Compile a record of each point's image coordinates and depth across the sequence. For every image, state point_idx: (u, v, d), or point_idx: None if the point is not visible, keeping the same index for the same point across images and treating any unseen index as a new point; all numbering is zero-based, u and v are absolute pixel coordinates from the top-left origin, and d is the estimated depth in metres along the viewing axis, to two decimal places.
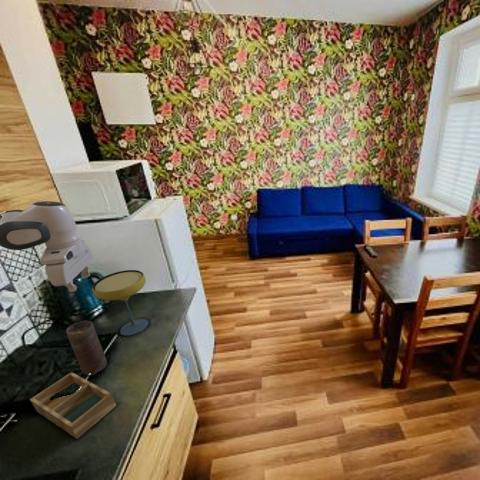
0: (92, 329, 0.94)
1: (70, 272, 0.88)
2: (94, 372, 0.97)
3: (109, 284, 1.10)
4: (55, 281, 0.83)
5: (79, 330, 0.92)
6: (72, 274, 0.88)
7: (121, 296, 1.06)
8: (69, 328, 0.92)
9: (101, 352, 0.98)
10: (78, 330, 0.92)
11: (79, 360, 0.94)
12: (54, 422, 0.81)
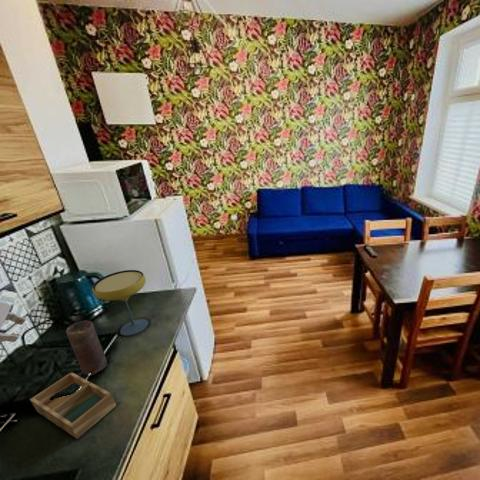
0: (92, 329, 0.94)
1: None
2: (94, 372, 0.97)
3: (109, 284, 1.10)
4: None
5: (79, 330, 0.92)
6: None
7: (121, 296, 1.06)
8: (69, 328, 0.92)
9: (101, 352, 0.98)
10: (78, 330, 0.92)
11: (79, 360, 0.94)
12: (54, 422, 0.81)
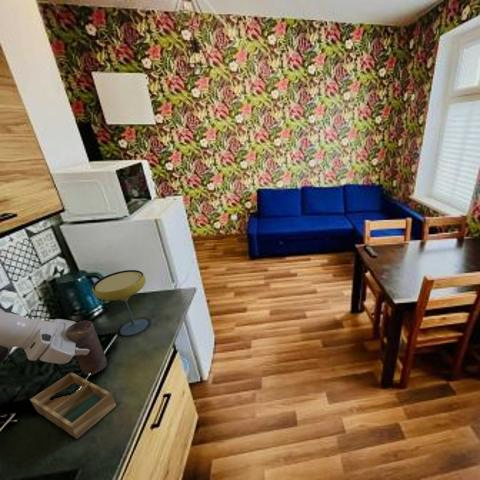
0: (92, 329, 0.94)
1: (65, 345, 0.87)
2: (94, 372, 0.97)
3: (109, 284, 1.10)
4: (61, 360, 0.84)
5: (79, 330, 0.92)
6: (69, 345, 0.88)
7: (121, 296, 1.06)
8: (69, 328, 0.92)
9: (101, 352, 0.98)
10: (78, 330, 0.92)
11: (79, 360, 0.94)
12: (54, 422, 0.81)
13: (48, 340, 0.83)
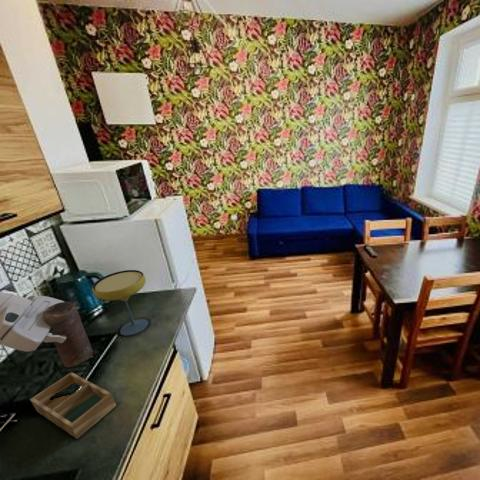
0: (72, 313, 0.79)
1: (35, 329, 0.73)
2: (73, 363, 0.82)
3: (109, 284, 1.10)
4: (24, 347, 0.70)
5: (57, 313, 0.78)
6: (40, 330, 0.74)
7: (121, 296, 1.06)
8: (48, 309, 0.78)
9: (84, 341, 0.83)
10: (56, 312, 0.78)
11: (57, 347, 0.80)
12: (54, 422, 0.81)
13: (12, 321, 0.69)
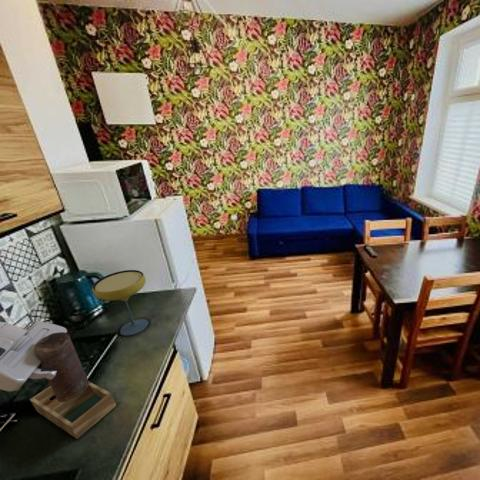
0: (64, 347, 0.73)
1: (21, 365, 0.67)
2: (65, 399, 0.76)
3: (109, 284, 1.10)
4: (6, 387, 0.64)
5: (48, 346, 0.72)
6: (28, 366, 0.68)
7: (121, 296, 1.06)
8: (42, 340, 0.73)
9: (77, 375, 0.77)
10: (48, 345, 0.72)
11: (49, 381, 0.74)
12: (54, 422, 0.81)
13: None
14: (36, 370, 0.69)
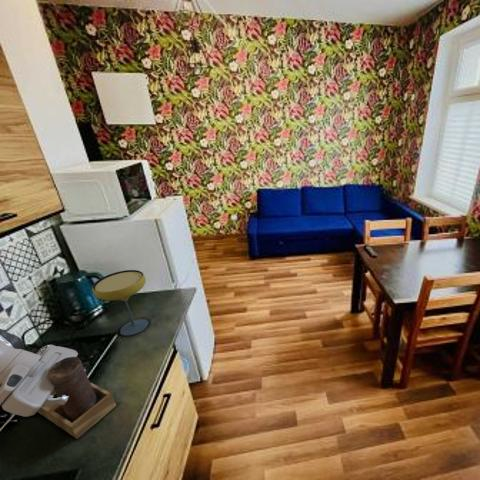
0: (76, 372, 0.77)
1: (37, 391, 0.71)
2: None
3: (109, 284, 1.10)
4: (23, 412, 0.68)
5: (61, 371, 0.75)
6: (43, 391, 0.72)
7: (121, 296, 1.06)
8: (54, 365, 0.77)
9: (88, 398, 0.81)
10: (61, 371, 0.76)
11: None
12: (54, 422, 0.81)
13: (13, 385, 0.67)
14: (49, 397, 0.72)
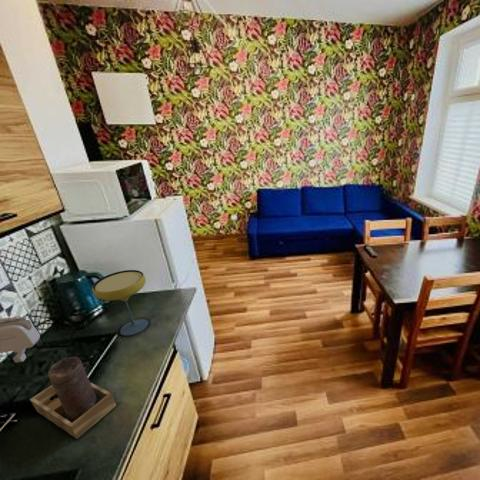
0: (76, 372, 0.77)
1: None
2: None
3: (109, 284, 1.10)
4: None
5: (61, 371, 0.75)
6: None
7: (121, 296, 1.06)
8: (55, 365, 0.77)
9: (88, 398, 0.81)
10: (61, 371, 0.76)
11: None
12: (54, 422, 0.81)
13: None
14: None
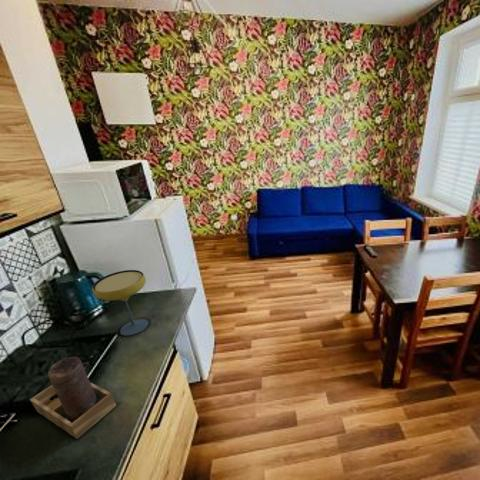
0: (76, 372, 0.77)
1: None
2: None
3: (109, 284, 1.10)
4: None
5: (61, 371, 0.75)
6: None
7: (121, 296, 1.06)
8: (55, 365, 0.77)
9: (88, 398, 0.81)
10: (61, 371, 0.76)
11: None
12: (54, 422, 0.81)
13: None
14: None
